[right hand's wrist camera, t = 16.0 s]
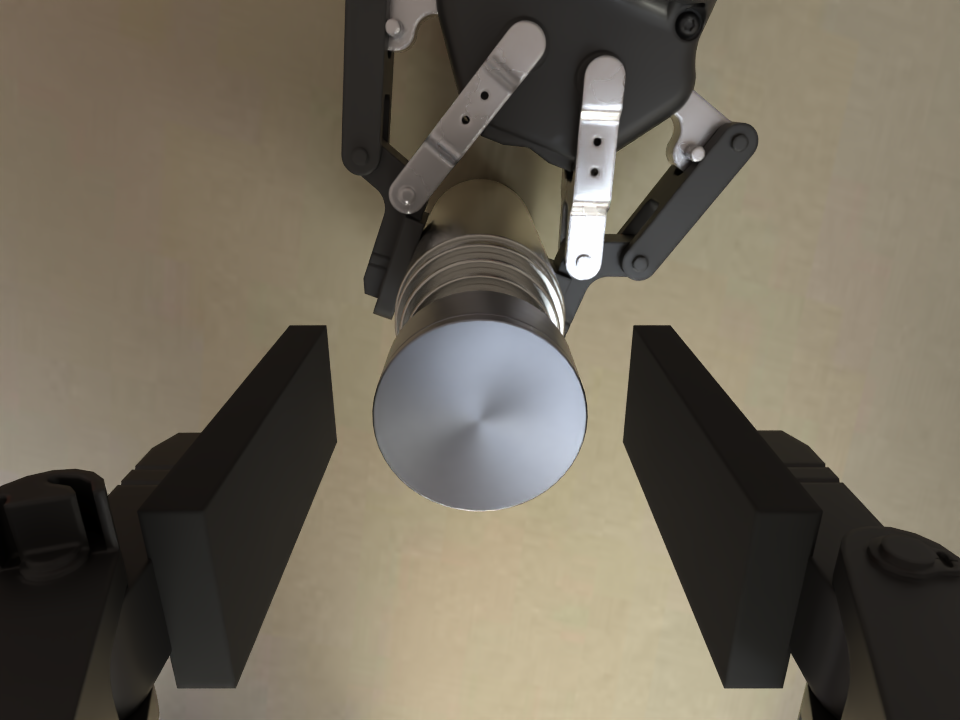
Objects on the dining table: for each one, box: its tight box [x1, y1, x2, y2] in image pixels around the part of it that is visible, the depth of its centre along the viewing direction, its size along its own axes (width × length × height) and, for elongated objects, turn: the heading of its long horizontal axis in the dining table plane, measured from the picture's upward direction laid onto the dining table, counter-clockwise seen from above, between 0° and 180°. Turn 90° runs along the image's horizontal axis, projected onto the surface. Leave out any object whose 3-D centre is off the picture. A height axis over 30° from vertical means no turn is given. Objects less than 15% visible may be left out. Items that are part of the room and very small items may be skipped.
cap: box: [372, 291, 588, 511], centre depth 13 cm, size 4×4×2 cm
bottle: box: [395, 179, 565, 337], centre depth 21 cm, size 5×5×18 cm
